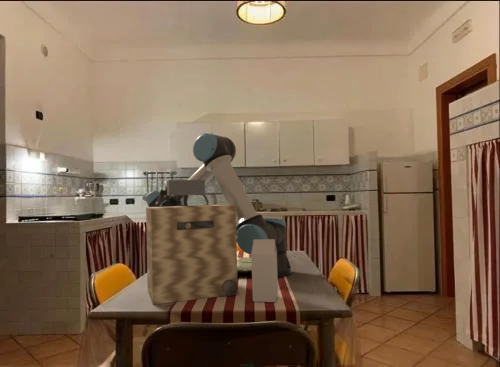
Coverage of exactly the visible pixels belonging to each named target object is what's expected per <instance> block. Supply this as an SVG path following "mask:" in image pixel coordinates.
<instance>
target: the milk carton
mask: <svg viewBox="0 0 500 367" xmlns="http://www.w3.org/2000/svg"><path fill="white" fill-rule="evenodd" d="M250 255H251V258H250V259H251V283H252V285H251V287H252V290H251V291H252V292H251V293H252V302H259V303H260V302H263V303H275V302H276V301H277V299H278V297H279V284H278V282H279V280H278V277H277V249H276V245H275V239H253V247H252V253H251V254H250Z"/></svg>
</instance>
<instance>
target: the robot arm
mask: <svg viewBox="0 0 500 367" xmlns="http://www.w3.org/2000/svg"><path fill="white" fill-rule="evenodd" d="M192 153H193V156H194V157H195V159H196V160H198V161H199V162H202V164H201V166H199V168H198V169H197V170H196V171H194V173H193V174H191V176H189V178H188V179H187V180H205V185H206V184H208V182H209V181H211V180H212V179H213V178H214V179H215V182H216V183H217V185H218V187H219V188H220V189H219V190H220V191H221V193H222V195H223V197H224V199H225V201H226V204H227V205H235V206H236V243H237V245H238V248H239V249H240V250H241V251H243V253H246V254H248V255H251V253H252V247H253V239H275V245H276V249H277V277H279V278H281V277H285V276H289V275H291V274H292V265H291V263H290V261H289V257H288V255H287V254H288V251H287V224H286V220H284V218H283V219H282V218H275V217H273V218H271V217H270V218H268V217H263V215H262V213H260V212H257V211H256V210H255V207H254V206H253V204H252V202H251V200H250V198H249V196H248V194H247V192H246V190H245V188H244V187H243V185H242V182H241V181H240V179H239V177H238V175H237V172H236V171H235V169H234V167H233V165H232V162H233V160H234V159H235V158H236V155H237V149H236V145H235V143H234V141H233V140H232V139H230V138H229V137H226V136H222V135H218V134H213V133H206V132H205V133H202V134H200V135H199V136H198V137H197V138H196V139H195V140H194V142H193V146H192ZM180 180H184V179H180ZM194 196H195V195H175V196H169V195H168V196H167V185H166V186H165V189H161V190H160V191H159V190H152V191H150V192H149V193H147V194H146V195H145V202H146V204H147V206H148V207H168V206H189V204H188V202H189V201H190V200H191V199H192V198H193V197H194Z"/></svg>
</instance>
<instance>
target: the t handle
mask: <svg viewBox="0 0 500 367" xmlns="http://www.w3.org/2000/svg"><path fill="white" fill-rule="evenodd" d="M166 186H167V196H168V195H169V196H175V195H194V196H199V195H200V196H202V195H203V196H204V195H206V184H205V180H188V179H183V180H181V179H169V180H166Z"/></svg>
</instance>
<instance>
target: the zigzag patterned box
mask: <svg viewBox="0 0 500 367" xmlns="http://www.w3.org/2000/svg"><path fill="white" fill-rule="evenodd" d="M145 213H146V214H145V215H146V216H145V217H146V219H145V223H146V224H145V225H146V273H147V274H146V276H147V278H146V279H147V280H146V281H147V293H148V295H149V298H150V301H151V303H152V305H159V304H160V305H162V304H168V303H177V302H182V301H183V302H185V301H192V300H199V299H200V300H201V299H207V298H208V299H209V298H216V297H222V296H228V297H233V296H235V295H238V294H239V285H238V284H239V283H238V282H239V281H238V254H237V253H238V250H237V245H238V244H237V240H236V237H237V230H236V224H237V221H236V206H235V205H228V204H204V205H203V204H202V205H201V204H200V205H198V204H197V205H188V206H168V207H149V206H148V207H147V206H146V207H145Z"/></svg>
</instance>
